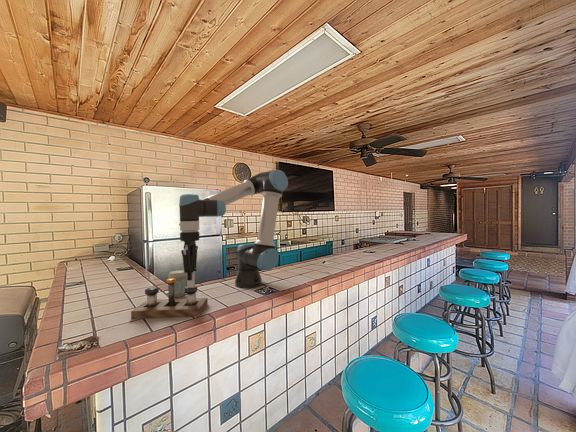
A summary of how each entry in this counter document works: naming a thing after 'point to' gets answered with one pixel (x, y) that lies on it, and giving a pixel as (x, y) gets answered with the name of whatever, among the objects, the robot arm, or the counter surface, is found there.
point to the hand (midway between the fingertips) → (190, 287)
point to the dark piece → (171, 290)
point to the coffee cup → (179, 282)
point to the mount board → (169, 309)
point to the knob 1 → (151, 296)
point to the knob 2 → (191, 296)
